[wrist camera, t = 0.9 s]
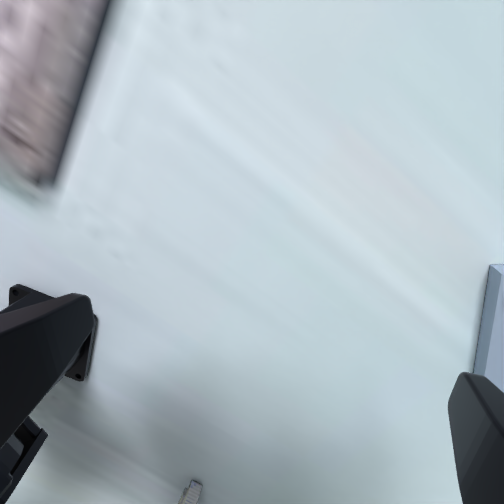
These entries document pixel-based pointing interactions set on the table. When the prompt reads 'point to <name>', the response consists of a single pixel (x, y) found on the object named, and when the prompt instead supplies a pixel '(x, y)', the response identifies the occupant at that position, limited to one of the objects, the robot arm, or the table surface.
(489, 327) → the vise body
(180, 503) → the caliper
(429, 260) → the table surface
